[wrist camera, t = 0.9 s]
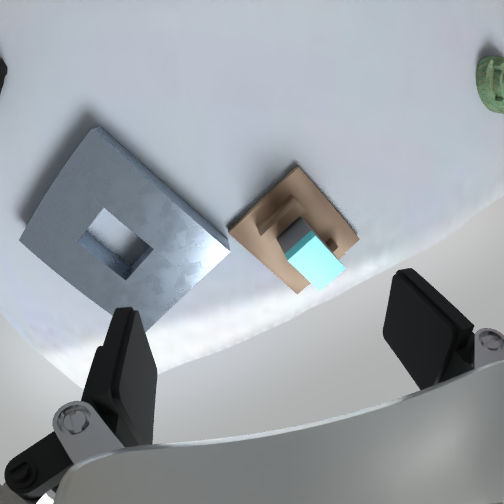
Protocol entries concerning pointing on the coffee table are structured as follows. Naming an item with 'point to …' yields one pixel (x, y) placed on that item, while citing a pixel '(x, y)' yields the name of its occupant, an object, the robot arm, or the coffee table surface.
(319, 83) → the coffee table surface
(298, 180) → the brown holder base
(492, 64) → the decorative artifact
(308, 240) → the plug
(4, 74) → the portable speaker
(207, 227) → the port
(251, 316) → the coffee table surface
